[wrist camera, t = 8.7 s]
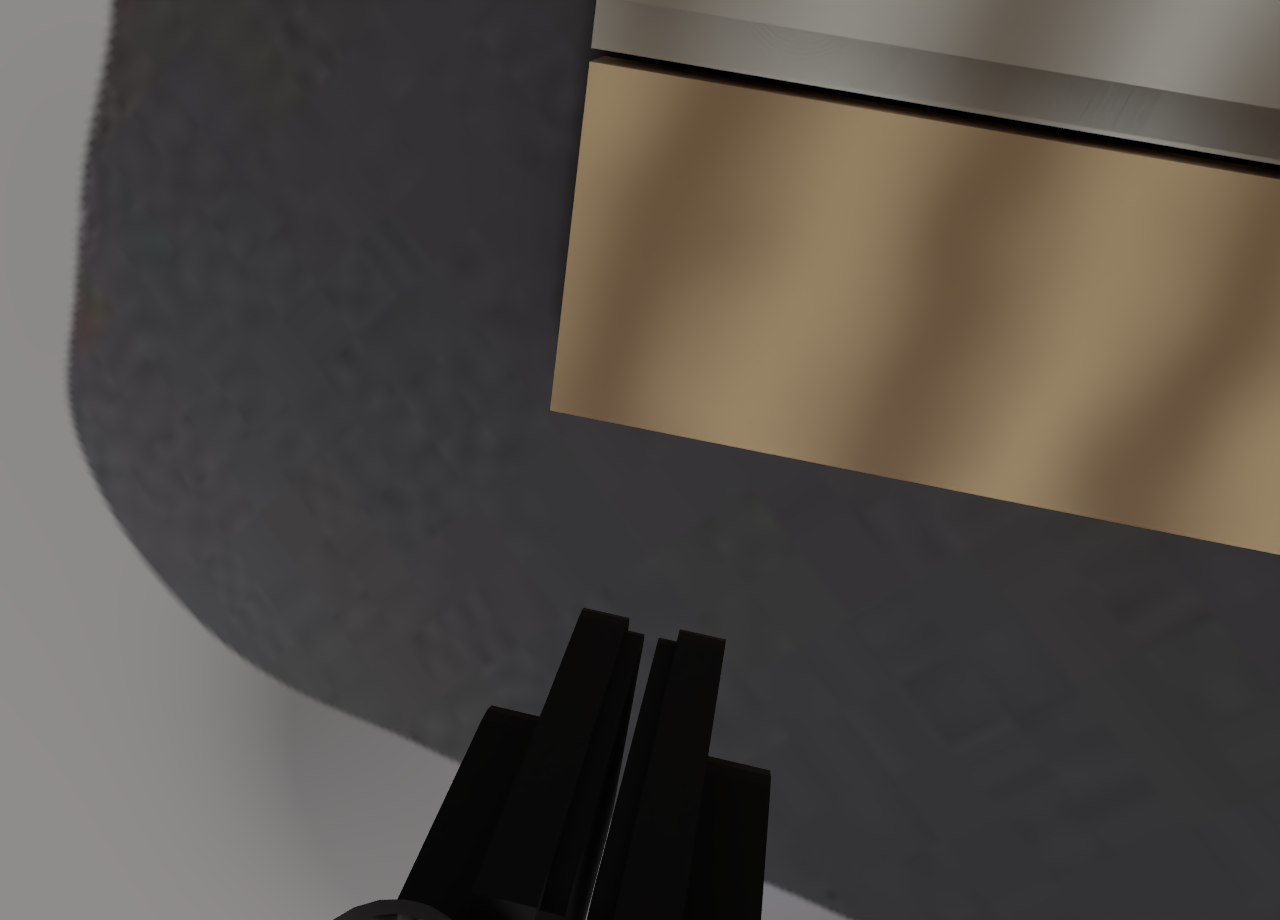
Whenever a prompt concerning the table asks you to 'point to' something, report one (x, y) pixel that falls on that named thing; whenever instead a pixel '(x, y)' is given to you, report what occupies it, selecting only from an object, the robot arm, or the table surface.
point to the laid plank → (999, 58)
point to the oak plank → (928, 299)
